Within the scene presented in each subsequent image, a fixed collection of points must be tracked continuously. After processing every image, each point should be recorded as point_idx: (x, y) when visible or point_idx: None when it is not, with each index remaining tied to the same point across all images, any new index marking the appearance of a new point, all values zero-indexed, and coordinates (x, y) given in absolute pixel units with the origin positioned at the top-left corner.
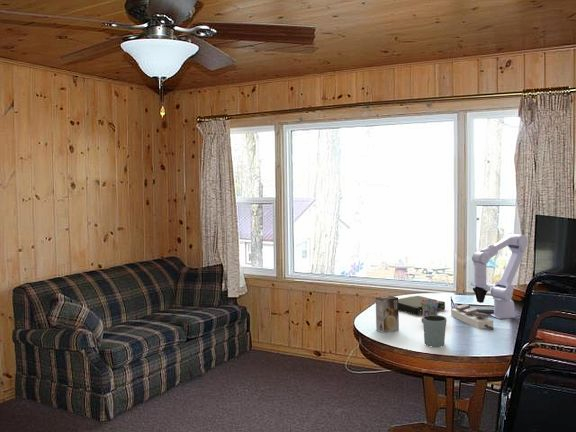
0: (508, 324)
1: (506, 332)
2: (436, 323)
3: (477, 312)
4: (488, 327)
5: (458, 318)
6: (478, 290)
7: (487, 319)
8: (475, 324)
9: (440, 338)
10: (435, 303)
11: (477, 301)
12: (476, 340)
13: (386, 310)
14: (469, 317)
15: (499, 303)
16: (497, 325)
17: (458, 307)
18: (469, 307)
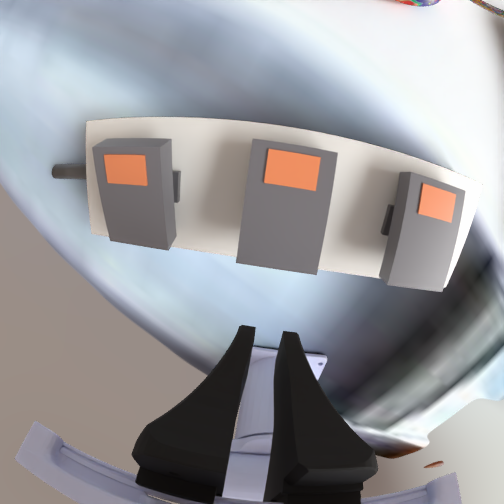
0: (149, 316)
1: (45, 217)
2: None
3: (137, 179)
4: (74, 164)
5: (376, 145)
6: (149, 441)
7: None
8: (132, 117)
9: None
10: None
11: (289, 334)
12: (13, 43)
13: None
14: (204, 119)
15: (253, 422)
16: (143, 262)
17: (434, 187)
18: (381, 271)
